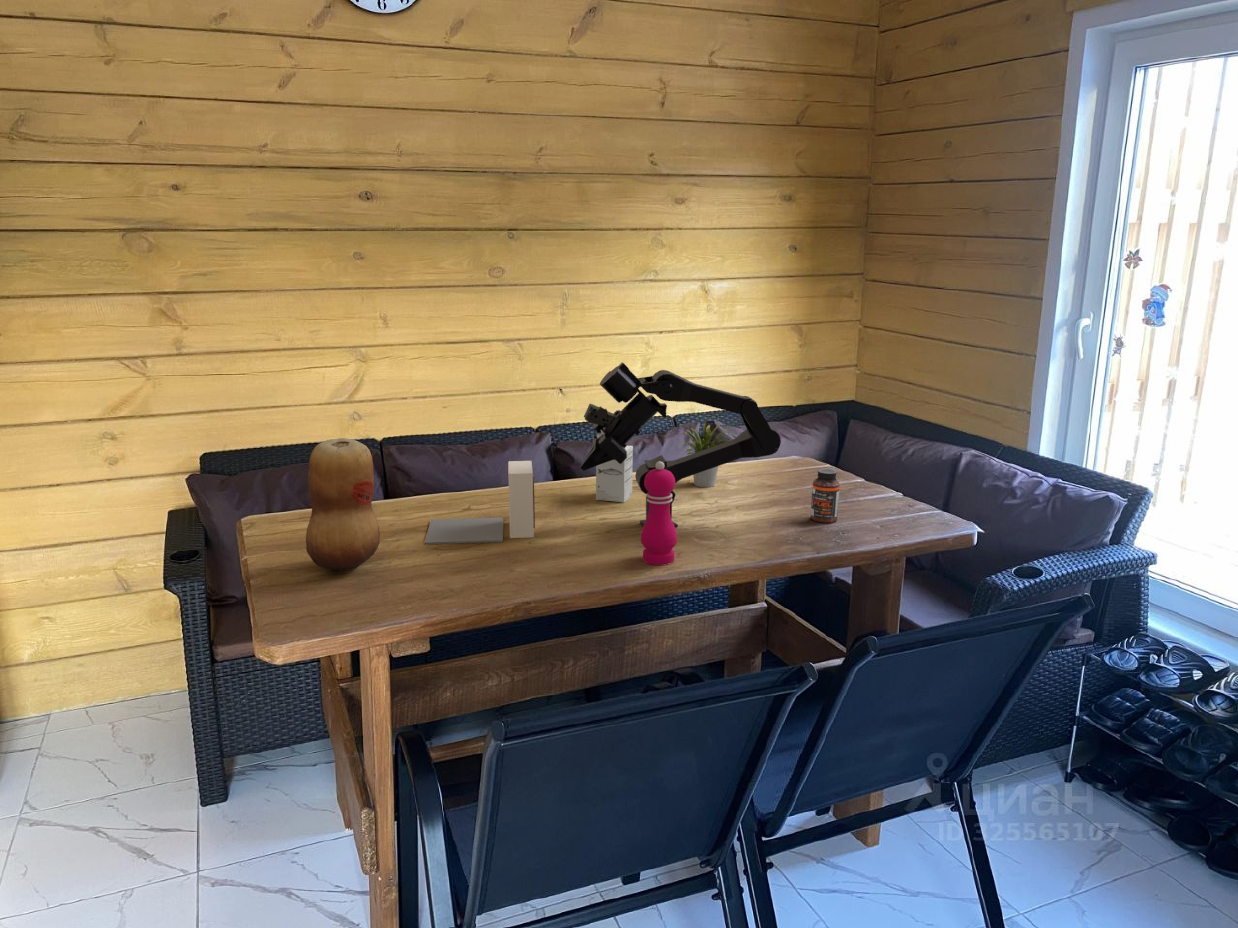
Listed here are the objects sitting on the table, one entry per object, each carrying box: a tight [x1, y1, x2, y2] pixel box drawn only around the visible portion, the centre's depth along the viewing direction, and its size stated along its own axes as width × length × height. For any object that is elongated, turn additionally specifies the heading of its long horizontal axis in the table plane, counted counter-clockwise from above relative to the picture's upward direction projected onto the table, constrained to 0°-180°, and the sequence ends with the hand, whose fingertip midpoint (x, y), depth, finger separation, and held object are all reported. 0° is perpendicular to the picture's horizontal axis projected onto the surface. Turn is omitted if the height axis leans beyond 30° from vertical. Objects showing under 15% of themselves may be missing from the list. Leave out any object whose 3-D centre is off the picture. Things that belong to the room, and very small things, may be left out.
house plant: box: [685, 421, 734, 488], centre depth 241 cm, size 14×14×16 cm
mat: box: [424, 517, 504, 545], centre depth 206 cm, size 16×16×1 cm
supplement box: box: [595, 445, 634, 503], centre depth 230 cm, size 7×7×13 cm
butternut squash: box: [305, 437, 381, 571], centre depth 181 cm, size 14×13×25 cm
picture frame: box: [507, 460, 536, 539], centre depth 206 cm, size 5×11×14 cm, turn 6°
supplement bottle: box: [810, 468, 840, 524], centre depth 214 cm, size 6×6×11 cm
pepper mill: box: [640, 461, 678, 566], centre depth 186 cm, size 7×7×20 cm
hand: (581, 468), depth 205 cm, fingers closed
